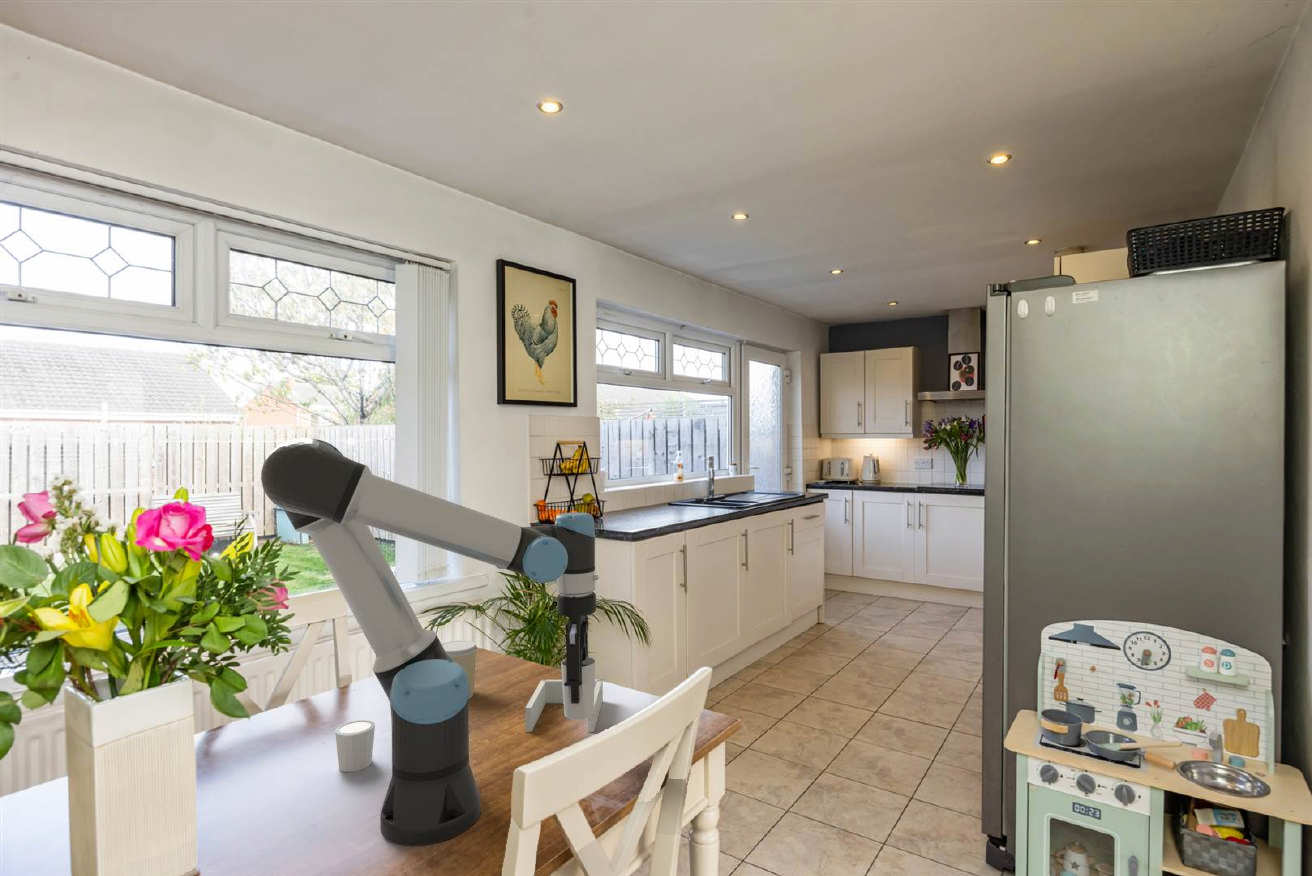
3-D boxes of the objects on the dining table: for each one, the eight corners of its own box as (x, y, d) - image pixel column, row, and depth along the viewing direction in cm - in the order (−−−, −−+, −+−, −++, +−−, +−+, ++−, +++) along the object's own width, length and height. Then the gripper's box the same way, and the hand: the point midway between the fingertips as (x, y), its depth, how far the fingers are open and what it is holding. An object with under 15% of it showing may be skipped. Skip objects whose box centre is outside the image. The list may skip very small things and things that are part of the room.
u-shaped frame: (525, 732, 138) (525, 707, 138) (541, 701, 155) (541, 679, 155) (594, 732, 138) (593, 707, 138) (602, 701, 155) (602, 679, 155)
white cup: (599, 707, 133) (598, 656, 133) (592, 721, 126) (591, 668, 127) (566, 706, 134) (565, 656, 134) (558, 720, 127) (557, 667, 127)
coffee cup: (433, 693, 161) (433, 643, 161) (473, 686, 165) (473, 638, 165) (438, 706, 153) (438, 653, 153) (480, 699, 157) (480, 648, 157)
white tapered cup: (331, 775, 121) (331, 737, 121) (338, 758, 127) (338, 722, 128) (372, 770, 123) (372, 732, 123) (377, 754, 129) (377, 717, 129)
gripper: (589, 603, 121) (592, 732, 121) (601, 582, 140) (603, 693, 139) (548, 604, 121) (550, 733, 121) (565, 582, 140) (567, 694, 140)
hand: (578, 711), depth 130 cm, fingers closed on white cup, 6 cm apart
